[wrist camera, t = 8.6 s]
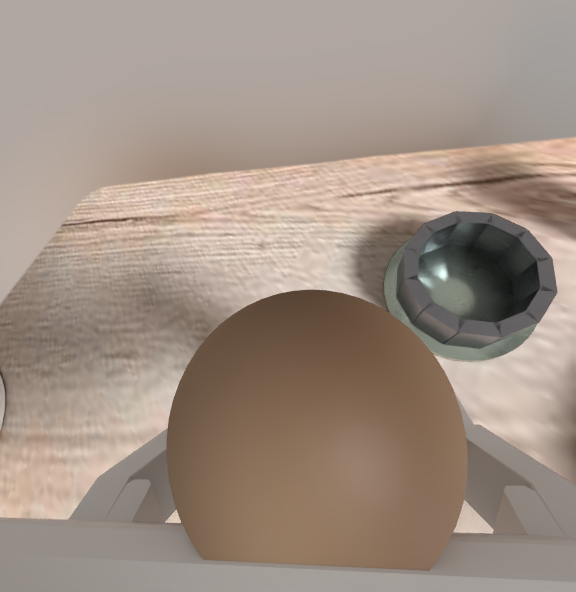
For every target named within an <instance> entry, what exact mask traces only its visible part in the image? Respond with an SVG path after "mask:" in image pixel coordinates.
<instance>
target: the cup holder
mask: <svg viewBox="0 0 576 592" xmlns="http://www.w3.org/2000/svg"><path fill="white" fill-rule="evenodd" d="M556 292H557V286H556V280H555V273H554V266H553V260H552V257H551V256H550V255H549V254H548V252H547V251H546V250H545V249H544V248H543V247H542V245H541V244H540V243H539V242H538V241H537V240H536V238H535V237H534V236H533V235H532V234H531V233H530V231H529V230H527V229H526V228H524V227H521V226H519V225H517V224H515V223H513V222H511V221H509V220H506V219H504V218H502V217H500V216H498V215H496V214H492V213H481V212H459V211H456V212H452V213H450V214H447V215H445V216H442V217H440V218H437V219H435V220H432V221H430V222H427V223H425V224H423V226H422V227H421V228H420V230H419V231H418V232H417V233H416V235H415V236H414V237H412V238H411V239H409V240H408V241H406V242H405V243H404V244H403V245H402V246H401V247H400V248H399V249H398V250H397V251H396V252H395V254H394V255H393V257H392V258H391V260H390V262H389V264H388V267H387V270H386V274H385V278H384V297H385V302H386V306H387V309H388V311H389V313H390V314H392V315H393V316H394V317H396V318H397V319H398V320H400V321H401V322H402V323H404V324H405V325H406V326H407V327H409V328H410V329H411V330H412V331H413V332H414V333H415V334H416V335H417V336H418V337H419V338H420V339H421V340H422V341H423V343H424V344H425V345H426V346H427V347H428V349H429V350H430V351H431V352H432V353H433V354H435V355H437V356H440V357H443V358H446V359H451V360H456V361H465V362H475V361H484V360H490V359H493V358H496V357H499V356H502V355H504V354H506V353H508V352H510V351H512V350H514V349H516V348H517V347H518V346H520V345H521V344H522V343H523V342H524V341H525V340H526V339H527V338H528V337H529V336H530V335H531V333H532V332H533V331H534V329H535V327H536V325H537V323H539V322H540V320H541V319H542V317H543V315H544V314H545V312H546V311H547V309H548V307H549V306H550V304H551V302H552V301H553V299H554V297H555V296H556V294H557V293H556Z"/></svg>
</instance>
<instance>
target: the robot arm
mask: <svg viewBox="0 0 576 592" xmlns="http://www.w3.org/2000/svg"><path fill="white" fill-rule="evenodd" d="M455 396H456V394H455ZM456 398H457V401H458V404H459V407H460V410H461V414H462V418H463V423H464V427H465V432H466V441H467V451H468V468H467V483H466V489H465V495H464V499H465V500H466V501H467V502H468V503H469V505H470V506H471V507H472V508H473V509H474V510H475V511H476V512H477V513H478V514H479V515H480V516H481V517H482V518H483V519H484V520H485V521H486V522H487V523H488V524H489V525H490V526H491V527H492V528H493V529H494V531H493V534H485V533H455V532H453V533H452V535H451V537H450V539H449V541H448V543H447V546H446V548H445V549H444V551H443V552H442V554H441V555H440V556H439V558H438V559H437V561H436V562H435V564H434V565H433V567H432V568H431V569H430V570H429V571H425V570H404V569H383V568H362V567H341V566H320V565H299V564H278V563H257V562H237V561H216V560H203V558H202V557H201V556H200V554H199V553H198V551H197V550H196V548H195V547H194V545H193V544H192V542H191V540H190V538H189V536H188V535H187V533H186V531H185V529H184V527H183V525H182V523H165V521H166V520H167V519H168V518H169V517H170V516H171V514H172V513H173V512H174V511H175V510H176V506H175V504H174V500H173V496H172V492H171V487H170V483H169V477H168V468H167V431H168V428H167V429H166V430H165V431H163V432H162V433H160V434H159V435H158V436H156V437H155V438H153V439H152V440H150V441H149V442H148V443H146V444H145V445H143V446H142V447H140V448H139V449H138V450H136V451H135V452H133V453H132V454H131V455H129V456H128V457H126V458H125V459H123V460H122V461H121V462H119V463H118V464H116V465H115V466H114V467H112V468H111V469H109V470H108V471H106V472H105V473H104V474H102V475H101V476H99V477H98V478H97V480H96V481H95V483H94V484H93V485H92V487H91V488H90V490H89V491H88V492H87V494H86V495H85V497H84V498H83V500H82V501H81V502H80V504H79V505H78V507H77V508H76V509H75V511H74V512H73V514H72V515H71V517H70V518H69V519H68V520H63V519H33V518H3V517H0V592H576V485H574V484H573V483H571V482H570V481H568V480H566V479H565V478H563V477H562V476H560V475H559V474H557V473H555V472H554V471H552V470H551V469H549V468H547V467H546V466H544V465H543V464H541V463H540V462H538V461H536V460H535V459H533V458H532V457H530V456H528V455H527V454H525V453H524V452H522V451H521V450H519V449H517V448H516V447H514V446H513V445H511V444H509V443H508V442H506V441H505V440H503V439H502V438H500V437H498V436H497V435H495V434H494V433H492V432H490V431H489V430H487V429H486V428H484V427H482V426H481V425H474V424H473V422H472V420H471V419H470V417H469V415H468V414H467V412H466V410H465V409H464V407H463V406H462V404H461V402H460V401H459V399H458V397H457V396H456ZM4 411H5V390H4V384H3V381H2V378H1V375H0V430H1V426H2V422H3V417H4Z"/></svg>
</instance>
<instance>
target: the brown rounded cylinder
mask: <svg viewBox="0 0 576 592" xmlns="http://www.w3.org/2000/svg"><path fill="white" fill-rule="evenodd" d="M167 468H168V477H169V483H170V487H171V492H172V496H173V500H174V504H175V506H176V509H177V512H178V515H179V517H180V520H181V523H182V525H183V527H184V529H185V531H186V533H187V535H188V536H189V538H190V540H191V542H192V544H193V545H194V547H195V548H196V550H197V551H198V553H199V554H200V556H201V557H202V558H203V560H216V561H237V562H257V563H278V564H299V565H320V566H341V567H362V568H383V569H404V570H425V571H429V570H430V569H431V568H432V567H433V565H434V564H435V562H436V561H437V559H438V558H439V556H440V555H441V554H442V552H443V551H444V549H445V548H446V546H447V543H448V541H449V539H450V537H451V535H452V533H453V531H454V529H455V527H456V524H457V521H458V518H459V515H460V511H461V508H462V505H463V501H464V495H465V489H466V483H467V468H468V451H467V441H466V432H465V427H464V423H463V418H462V414H461V410H460V407H459V404H458V401H457V398H456V396H455V393H454V390H453V388H452V386H451V384H450V382H449V380H448V378H447V376H446V374H445V372H444V370H443V369H442V367H441V365H440V364H439V362H438V361H437V359H436V358H435V356H434V355H433V353H432V352H431V351H430V350H429V349H428V347H427V346H426V345H425V344H424V343H423V341H422V340H421V339H420V338H419V337H418V336H417V335H416V334H415V333H414V332H413V331H412V330H411V329H410V328H409V327H407V326H406V325H405V324H404V323H402V322H401V321H400V320H398V319H397V318H396V317H394V316H393V315H392V314H390V313H388V312H387V311H385V310H383V309H382V308H380V307H378V306H376V305H374V304H372V303H370V302H367V301H365V300H363V299H360V298H357V297H354V296H351V295H347V294H344V293H338V292H332V291H326V290H300V291H291V292H286V293H281V294H276V295H273V296H270V297H267V298H264V299H261V300H259V301H257V302H255V303H253V304H250V305H248V306H246V307H245V308H243V309H242V310H240V311H238V312H237V313H235V314H233V315H232V316H231V317H230V318H228V319H227V320H226V321H224V322H223V323H222V324H221V325H219V326H218V327H217V328H216V329H215V330H214V331H213V332H212V333H211V334H210V335H209V336H208V338H207V339H206V340H205V341H204V343H203V344H202V345H201V346H200V348H199V349H198V350H197V351H196V353H195V355H194V356H193V358H192V359H191V361H190V363H189V364H188V366H187V368H186V370H185V372H184V374H183V376H182V378H181V380H180V382H179V385H178V388H177V391H176V394H175V397H174V400H173V403H172V408H171V412H170V417H169V423H168V431H167Z"/></svg>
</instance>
